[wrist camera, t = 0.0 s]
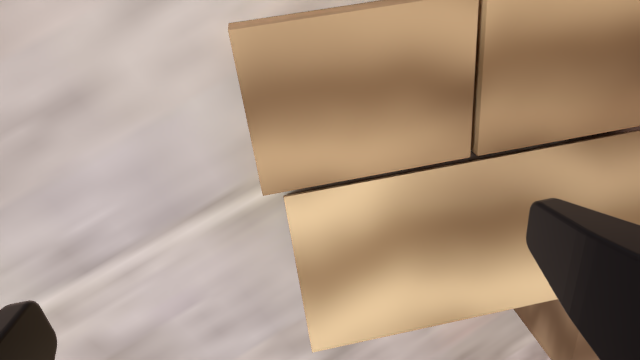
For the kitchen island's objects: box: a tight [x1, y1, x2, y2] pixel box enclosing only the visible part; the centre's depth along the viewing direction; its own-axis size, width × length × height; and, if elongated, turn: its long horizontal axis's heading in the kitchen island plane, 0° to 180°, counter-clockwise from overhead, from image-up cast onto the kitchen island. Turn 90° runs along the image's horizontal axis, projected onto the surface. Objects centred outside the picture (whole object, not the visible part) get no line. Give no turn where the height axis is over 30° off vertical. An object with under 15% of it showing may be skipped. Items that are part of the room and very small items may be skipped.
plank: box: [284, 130, 640, 352], centre depth 24 cm, size 8×20×2 cm, turn 95°
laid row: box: [228, 0, 640, 196], centre depth 22 cm, size 8×22×2 cm, turn 97°
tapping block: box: [514, 299, 600, 360], centre depth 28 cm, size 5×5×6 cm
